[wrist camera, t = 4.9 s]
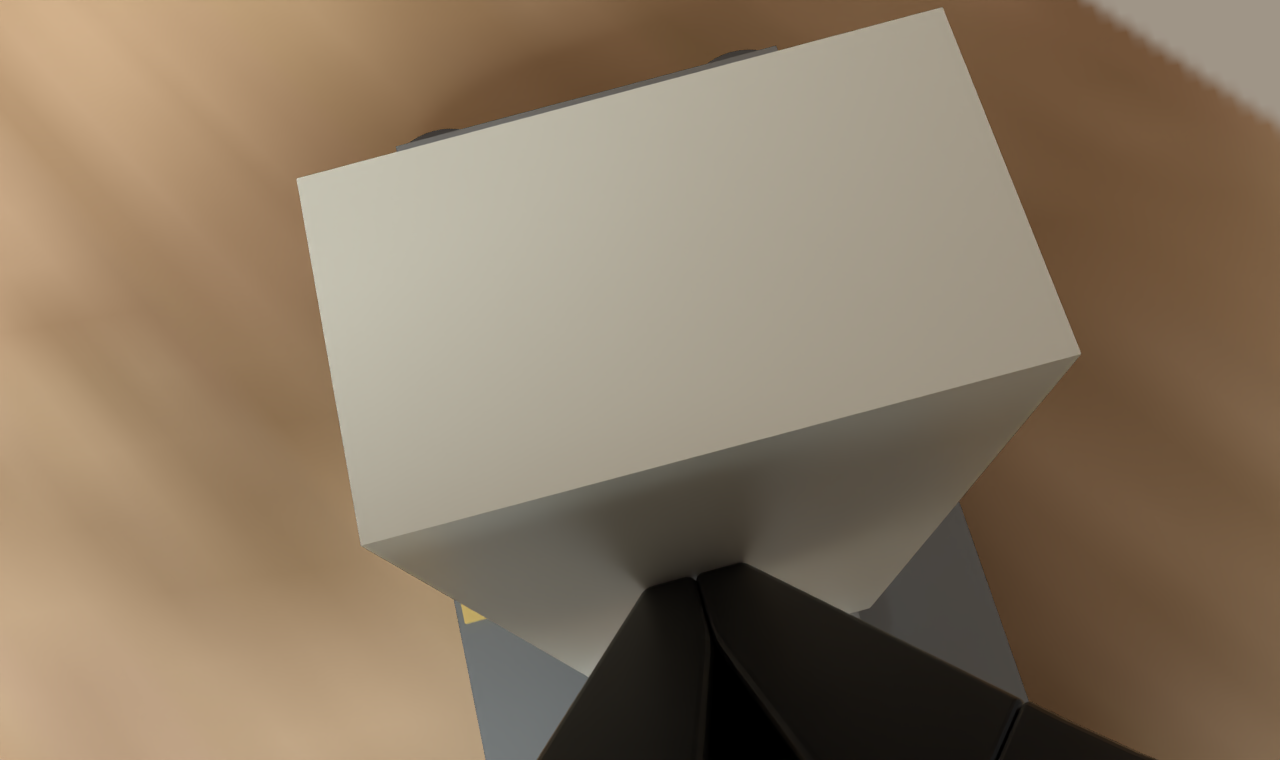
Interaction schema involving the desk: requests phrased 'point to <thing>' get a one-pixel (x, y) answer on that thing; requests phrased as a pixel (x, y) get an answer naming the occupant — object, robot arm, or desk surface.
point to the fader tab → (685, 333)
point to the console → (908, 609)
